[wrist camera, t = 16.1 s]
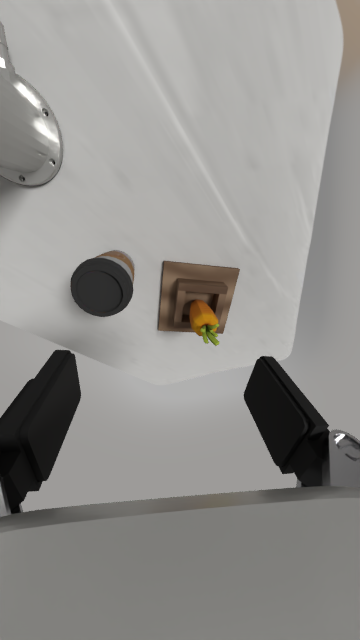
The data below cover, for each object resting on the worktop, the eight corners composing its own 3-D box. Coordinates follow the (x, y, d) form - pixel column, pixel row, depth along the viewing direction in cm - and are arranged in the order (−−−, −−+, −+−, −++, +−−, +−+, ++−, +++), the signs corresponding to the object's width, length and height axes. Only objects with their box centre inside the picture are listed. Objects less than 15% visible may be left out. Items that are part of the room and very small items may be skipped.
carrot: (181, 294, 43) (192, 332, 30) (203, 287, 42) (223, 322, 29) (187, 313, 45) (200, 356, 32) (208, 307, 45) (229, 347, 32)
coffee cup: (141, 248, 38) (133, 266, 25) (137, 288, 42) (129, 322, 29) (96, 240, 37) (63, 256, 24) (97, 283, 41) (69, 317, 28)
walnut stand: (163, 260, 40) (164, 265, 36) (238, 268, 42) (246, 274, 38) (158, 328, 47) (158, 338, 43) (221, 331, 50) (227, 341, 46)
